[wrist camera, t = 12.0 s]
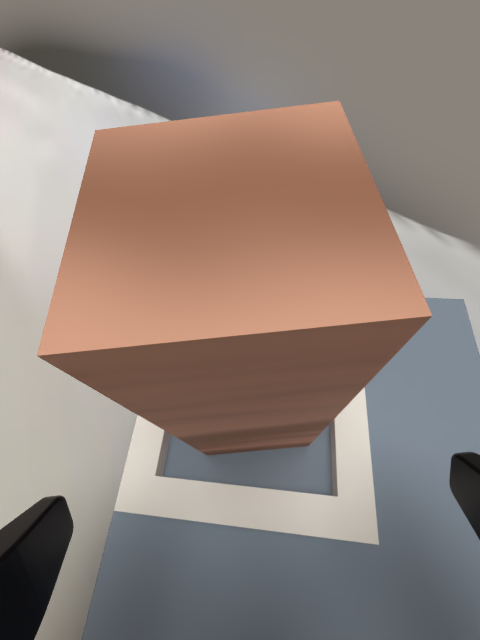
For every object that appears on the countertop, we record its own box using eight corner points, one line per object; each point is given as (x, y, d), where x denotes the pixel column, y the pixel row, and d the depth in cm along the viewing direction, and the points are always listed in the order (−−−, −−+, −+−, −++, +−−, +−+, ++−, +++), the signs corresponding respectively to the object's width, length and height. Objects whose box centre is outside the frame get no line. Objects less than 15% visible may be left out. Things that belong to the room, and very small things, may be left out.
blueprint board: (627, 965, 9) (727, 1096, 7) (48, 820, 11) (1, 890, 9) (454, 308, 19) (475, 287, 17) (173, 295, 21) (164, 276, 19)
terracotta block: (308, 446, 15) (431, 315, 4) (206, 455, 15) (36, 355, 4) (292, 352, 18) (339, 100, 6) (204, 360, 18) (95, 130, 6)
